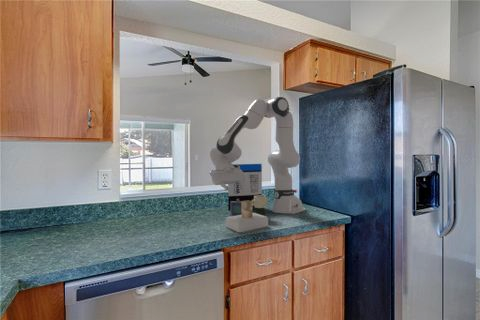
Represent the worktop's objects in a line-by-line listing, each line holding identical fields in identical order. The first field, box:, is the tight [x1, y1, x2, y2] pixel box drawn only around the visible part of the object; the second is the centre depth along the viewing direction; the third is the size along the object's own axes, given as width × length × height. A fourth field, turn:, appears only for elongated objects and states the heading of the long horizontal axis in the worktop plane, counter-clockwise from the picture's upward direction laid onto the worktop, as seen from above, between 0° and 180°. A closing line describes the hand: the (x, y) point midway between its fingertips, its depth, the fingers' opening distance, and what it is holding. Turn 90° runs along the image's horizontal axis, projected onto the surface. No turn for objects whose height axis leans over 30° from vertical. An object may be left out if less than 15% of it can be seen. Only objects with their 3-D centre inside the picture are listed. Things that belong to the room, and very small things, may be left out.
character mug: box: [252, 194, 269, 217], centre depth 154 cm, size 11×7×13 cm, turn 115°
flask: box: [229, 199, 242, 217], centre depth 159 cm, size 9×3×11 cm, turn 65°
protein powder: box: [227, 163, 263, 211], centre depth 182 cm, size 10×24×30 cm, turn 110°
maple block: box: [241, 200, 253, 218], centre depth 138 cm, size 4×4×8 cm
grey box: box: [225, 212, 269, 233], centre depth 138 cm, size 18×12×5 cm, turn 125°
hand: (234, 188), depth 147 cm, fingers open, 8 cm apart
